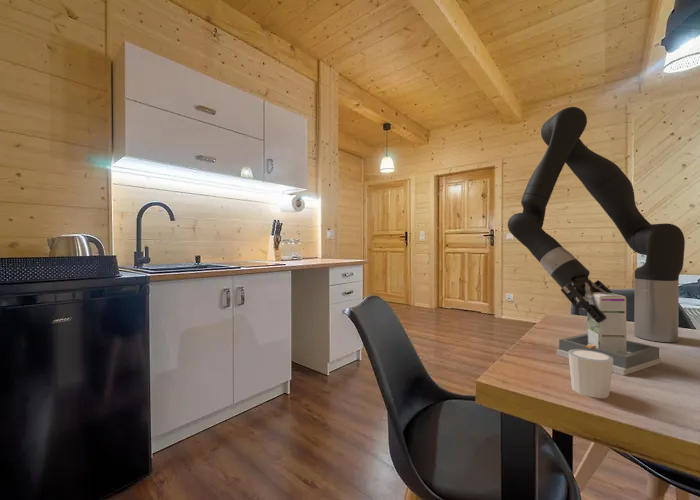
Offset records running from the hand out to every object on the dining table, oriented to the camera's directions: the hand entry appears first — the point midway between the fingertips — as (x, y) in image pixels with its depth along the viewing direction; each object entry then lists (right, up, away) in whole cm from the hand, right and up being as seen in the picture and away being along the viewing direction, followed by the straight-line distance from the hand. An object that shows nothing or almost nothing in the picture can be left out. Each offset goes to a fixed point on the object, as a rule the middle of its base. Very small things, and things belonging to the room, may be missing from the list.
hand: (613, 318), depth 75 cm
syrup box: (-1, -9, +1) cm, 9 cm away
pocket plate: (0, -10, +1) cm, 10 cm away
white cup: (-17, -11, -15) cm, 25 cm away
